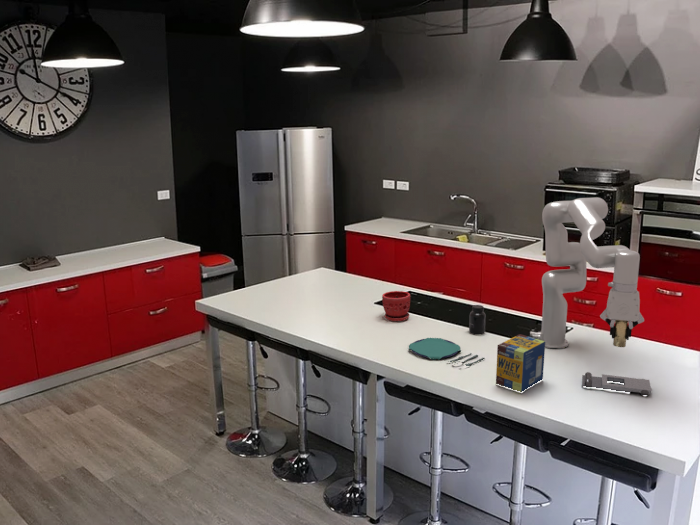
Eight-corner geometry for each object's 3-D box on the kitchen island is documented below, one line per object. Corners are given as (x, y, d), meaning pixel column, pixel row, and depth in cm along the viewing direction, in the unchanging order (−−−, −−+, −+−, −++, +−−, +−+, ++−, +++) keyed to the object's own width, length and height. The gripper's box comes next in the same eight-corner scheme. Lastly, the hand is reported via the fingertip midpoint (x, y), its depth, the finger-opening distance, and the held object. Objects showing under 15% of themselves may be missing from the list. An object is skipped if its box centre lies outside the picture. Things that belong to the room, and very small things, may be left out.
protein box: (495, 385, 223) (496, 344, 219) (518, 372, 233) (520, 333, 230) (521, 394, 216) (523, 352, 212) (543, 380, 226) (546, 340, 222)
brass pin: (613, 346, 215) (615, 318, 212) (612, 342, 218) (615, 315, 216) (625, 347, 213) (628, 320, 211) (625, 343, 217) (627, 316, 214)
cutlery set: (433, 338, 269) (433, 333, 268) (489, 360, 246) (489, 355, 245) (399, 350, 257) (399, 345, 256) (454, 375, 234) (454, 369, 234)
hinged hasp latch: (581, 388, 219) (582, 382, 219) (582, 377, 228) (582, 371, 227) (650, 397, 212) (651, 391, 211) (648, 385, 220) (649, 379, 220)
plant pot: (410, 314, 300) (410, 290, 298) (410, 323, 288) (410, 298, 285) (383, 313, 302) (382, 289, 299) (381, 322, 289) (381, 298, 286)
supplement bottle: (467, 333, 274) (467, 307, 271) (471, 328, 279) (472, 303, 277) (482, 336, 270) (483, 309, 268) (486, 331, 276) (487, 305, 273)
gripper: (598, 287, 210) (594, 339, 215) (653, 292, 204) (647, 344, 209) (598, 282, 217) (593, 331, 221) (651, 285, 211) (645, 336, 216)
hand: (620, 337), depth 215 cm, fingers closed on brass pin, 4 cm apart
